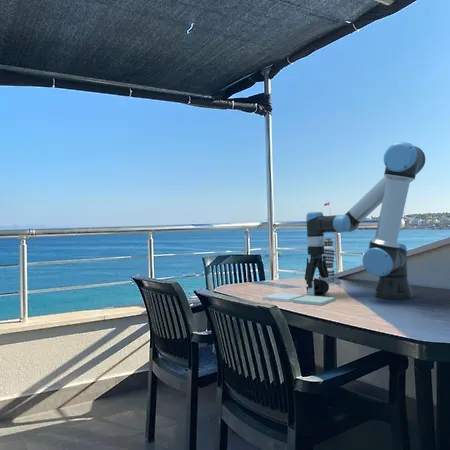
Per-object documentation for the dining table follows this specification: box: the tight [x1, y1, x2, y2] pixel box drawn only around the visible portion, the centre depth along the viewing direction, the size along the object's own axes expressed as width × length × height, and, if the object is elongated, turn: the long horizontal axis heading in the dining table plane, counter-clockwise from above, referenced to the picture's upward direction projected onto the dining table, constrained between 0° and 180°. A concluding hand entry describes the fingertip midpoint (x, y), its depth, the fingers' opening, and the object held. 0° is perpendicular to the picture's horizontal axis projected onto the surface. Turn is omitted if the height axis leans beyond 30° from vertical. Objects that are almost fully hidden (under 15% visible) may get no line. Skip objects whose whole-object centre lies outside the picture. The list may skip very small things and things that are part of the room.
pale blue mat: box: [262, 292, 304, 303], centre depth 186 cm, size 13×13×1 cm
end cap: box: [305, 277, 330, 297], centre depth 193 cm, size 10×7×7 cm
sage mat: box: [291, 294, 336, 306], centre depth 177 cm, size 13×13×1 cm
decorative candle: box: [318, 237, 336, 286], centre depth 230 cm, size 9×9×25 cm
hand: (317, 293), depth 193 cm, fingers closed on end cap, 11 cm apart
